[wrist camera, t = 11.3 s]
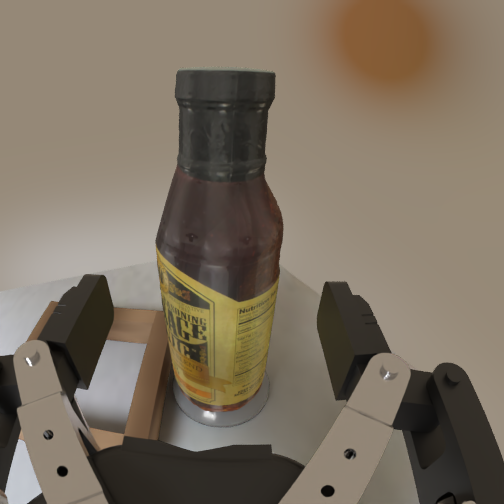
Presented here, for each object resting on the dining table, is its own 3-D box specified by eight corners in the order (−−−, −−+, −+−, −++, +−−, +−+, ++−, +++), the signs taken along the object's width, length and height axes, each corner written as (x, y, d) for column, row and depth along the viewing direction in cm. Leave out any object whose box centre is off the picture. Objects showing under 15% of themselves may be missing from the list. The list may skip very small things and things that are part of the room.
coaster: (167, 423, 19) (166, 419, 19) (180, 350, 25) (179, 345, 25) (271, 427, 19) (272, 423, 19) (265, 353, 25) (266, 348, 25)
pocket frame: (4, 433, 15) (-12, 415, 14) (59, 321, 26) (51, 301, 25) (153, 473, 16) (144, 459, 14) (177, 333, 27) (174, 311, 25)
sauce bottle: (166, 364, 23) (135, 73, 13) (240, 343, 26) (251, 71, 16) (197, 434, 18) (162, 62, 8) (281, 402, 21) (329, 73, 11)
